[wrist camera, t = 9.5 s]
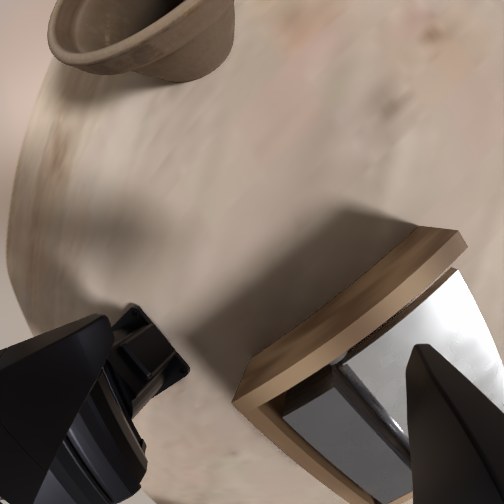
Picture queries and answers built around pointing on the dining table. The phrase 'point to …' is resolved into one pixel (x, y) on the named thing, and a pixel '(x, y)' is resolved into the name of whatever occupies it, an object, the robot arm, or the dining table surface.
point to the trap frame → (340, 346)
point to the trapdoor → (391, 387)
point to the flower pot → (143, 36)
